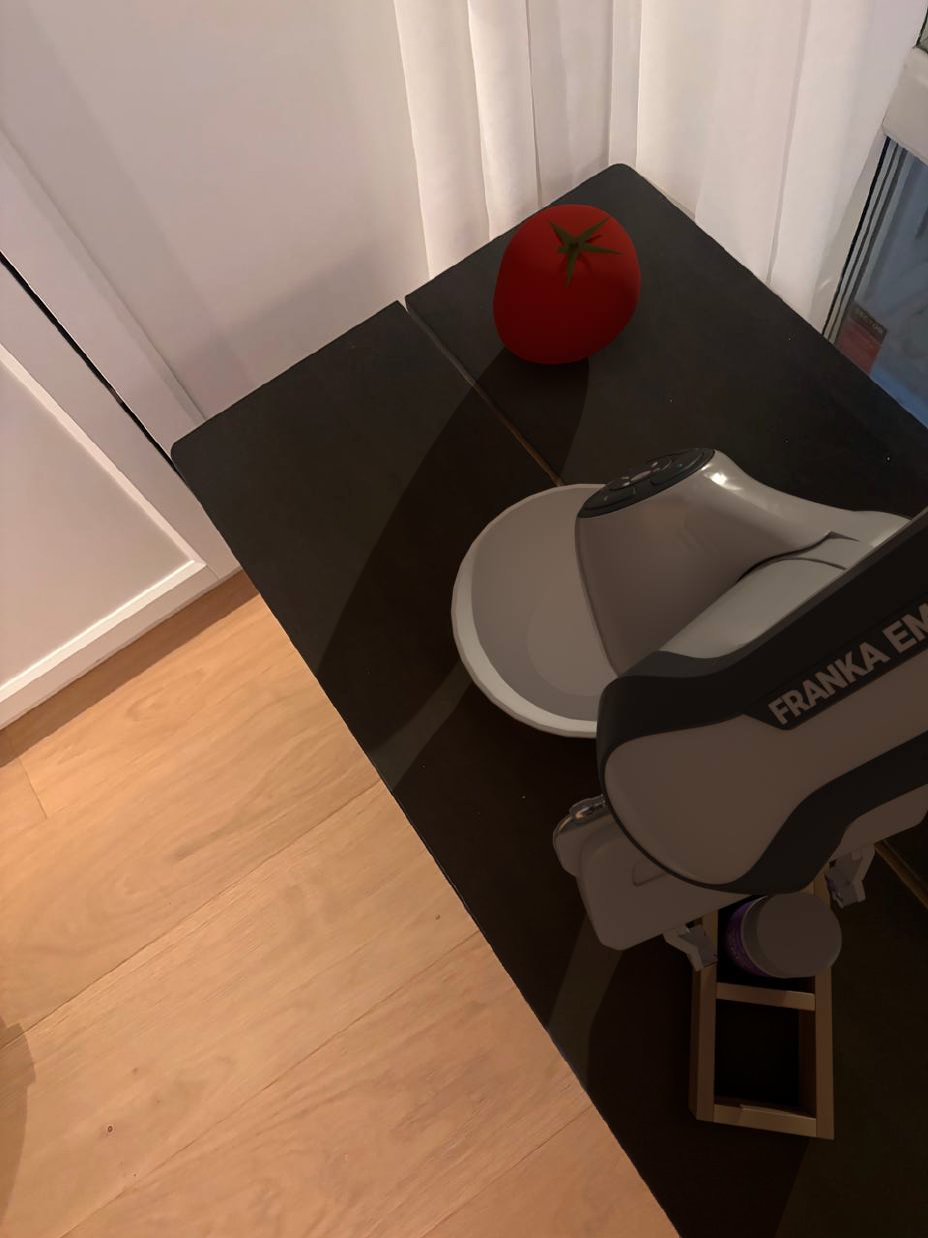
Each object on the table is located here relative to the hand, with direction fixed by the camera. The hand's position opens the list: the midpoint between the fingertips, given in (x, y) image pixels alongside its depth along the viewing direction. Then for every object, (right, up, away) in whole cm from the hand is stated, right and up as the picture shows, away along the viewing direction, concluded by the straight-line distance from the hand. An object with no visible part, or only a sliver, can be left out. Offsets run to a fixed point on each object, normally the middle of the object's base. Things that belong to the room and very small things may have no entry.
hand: (775, 928), depth 54 cm
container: (+1, -4, +9) cm, 10 cm away
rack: (+1, -4, +9) cm, 10 cm away
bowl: (-9, +17, +18) cm, 26 cm away
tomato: (-9, +45, +29) cm, 54 cm away
